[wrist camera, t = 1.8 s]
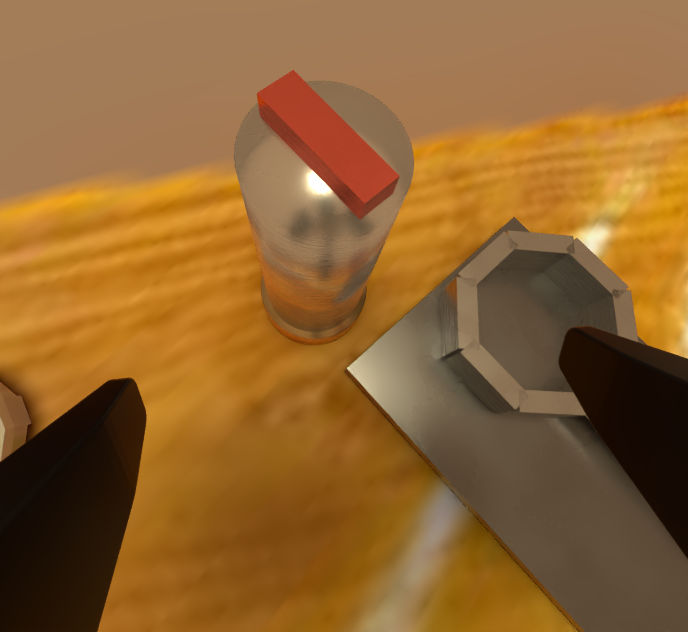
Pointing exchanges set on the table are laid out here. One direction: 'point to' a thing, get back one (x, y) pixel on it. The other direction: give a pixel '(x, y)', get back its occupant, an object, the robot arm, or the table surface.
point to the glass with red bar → (320, 199)
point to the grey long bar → (12, 422)
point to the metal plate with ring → (530, 427)
